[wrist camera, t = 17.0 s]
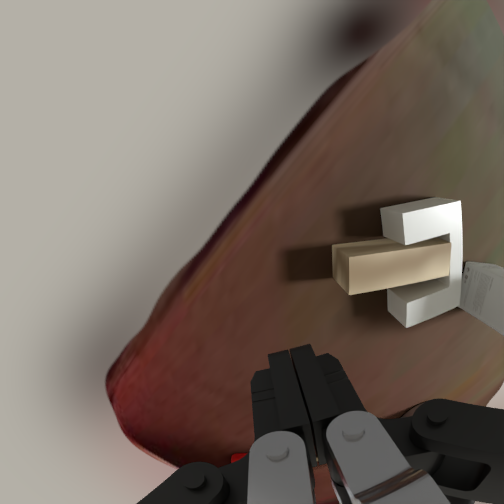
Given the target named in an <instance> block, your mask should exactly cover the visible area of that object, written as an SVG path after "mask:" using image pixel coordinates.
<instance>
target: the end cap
mask: <svg viewBox="0 0 504 504" xmlns="http://www.w3.org/2000/svg"><path fill="white" fill-rule="evenodd" d="M380 212H381V220H382V229H383V236H384V237H386V238H389V239H391V240H394V241H396V242H398V243H401V244H403V245H409V244H412V243H416V242H420V241H423V240H427V239H430V238H434V237H437V238H440V239H443V240H445V241H448V242H451V258H450V269H449V276H444V277H440V278H435V279H431V280H426V281H421V282H417V283H412V284H407V285H402V286H397V287H392V288H387V303H388V312H390V313H391V314H392V315H393V316H394V317H395V318H396V319H397V320H398V321H399V322H400V323H401V324H402V325H403V326H404V327H405V328H408V327H411V326H413V325H416V324H418V323H421V322H423V321H426V320H428V319H430V318H433V317H435V316H437V315H440V314H442V313H444V312H447V311H449V310H451V309H453V308H455V307H458V306H460V295H461V281H462V214H461V201H458V200H452V199H445V198H438V197H434V198H429V199H424V200H419V201H414V202H409V203H404V204H399V205H394V206H389V207H384V208H380Z"/></svg>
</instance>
